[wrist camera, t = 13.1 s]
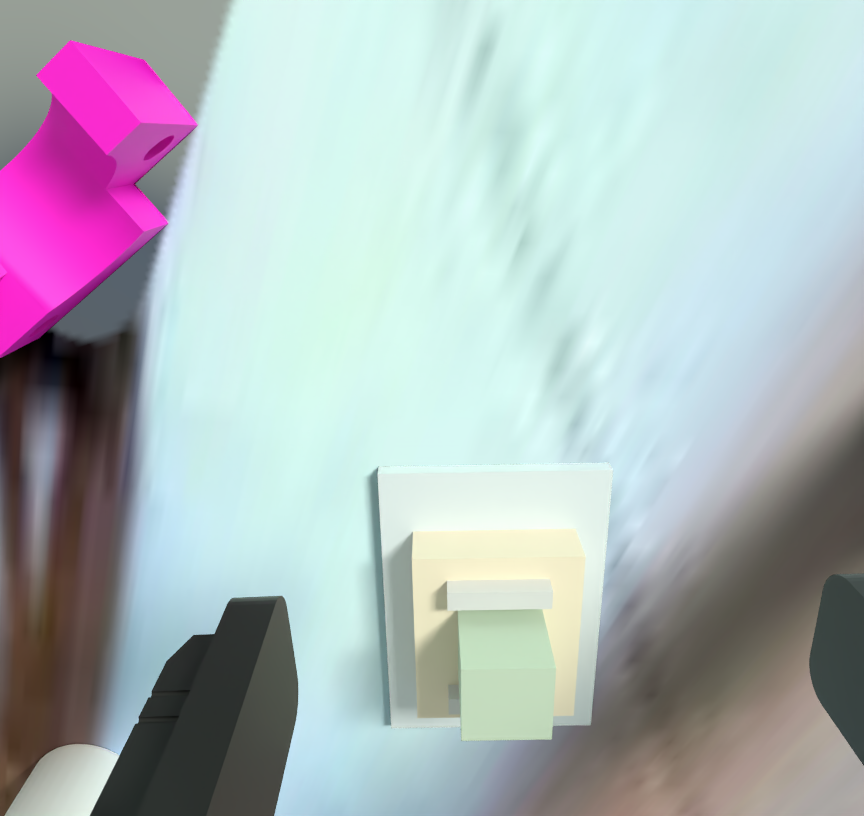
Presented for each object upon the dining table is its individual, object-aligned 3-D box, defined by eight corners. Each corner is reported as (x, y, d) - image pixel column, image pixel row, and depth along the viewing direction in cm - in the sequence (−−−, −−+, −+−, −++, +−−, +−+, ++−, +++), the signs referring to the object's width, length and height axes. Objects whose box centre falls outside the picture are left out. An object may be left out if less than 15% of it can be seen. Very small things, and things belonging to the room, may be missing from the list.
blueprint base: (608, 462, 42) (632, 505, 37) (587, 714, 49) (604, 777, 44) (378, 466, 42) (371, 509, 37) (392, 716, 49) (387, 780, 44)
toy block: (41, 336, 39) (-44, 380, 32) (-49, 248, 37) (-160, 274, 30) (233, 166, 36) (185, 174, 29) (145, 59, 34) (70, 40, 27)
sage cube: (541, 607, 41) (556, 668, 36) (538, 673, 43) (551, 739, 38) (457, 608, 41) (461, 669, 36) (458, 674, 43) (461, 740, 38)
